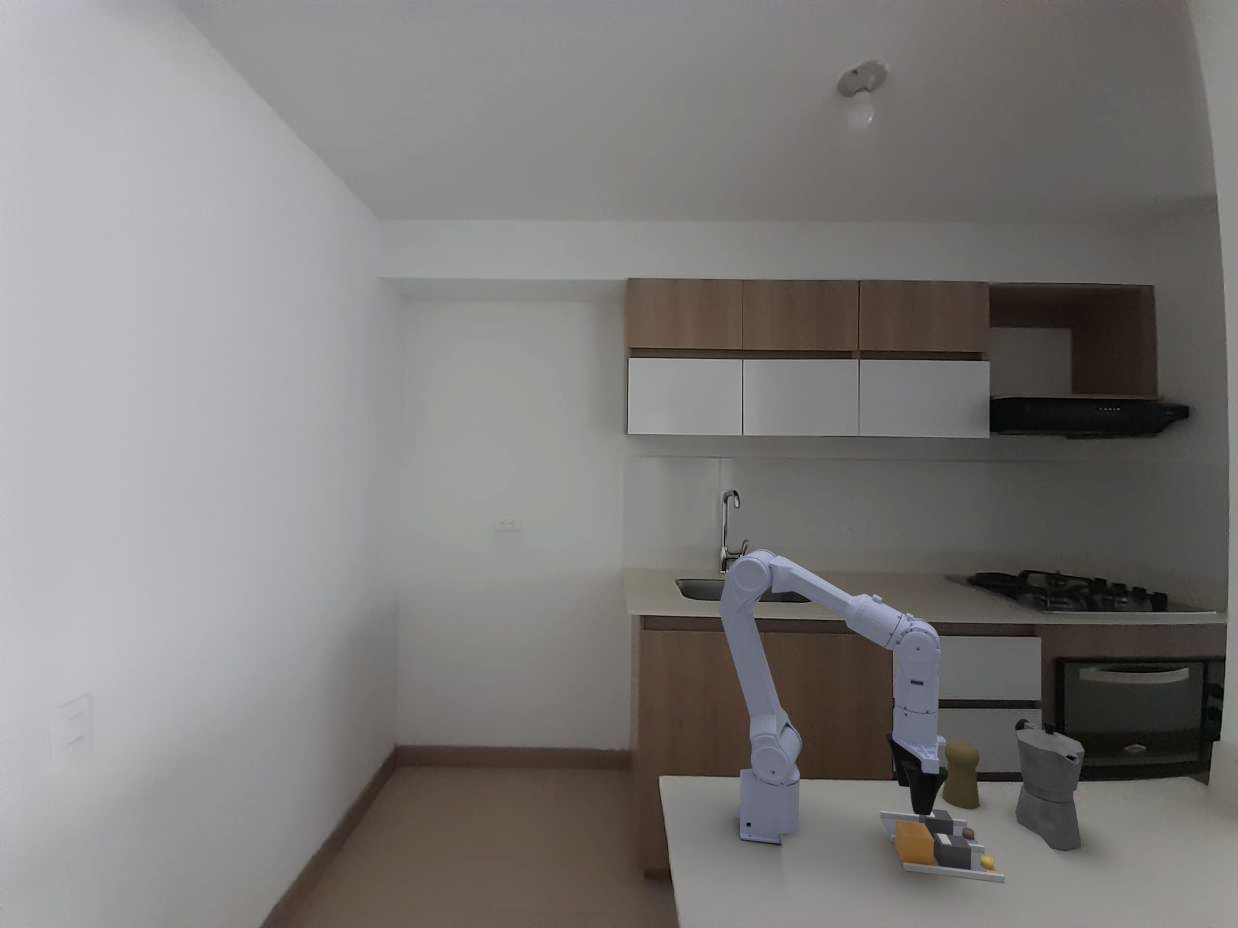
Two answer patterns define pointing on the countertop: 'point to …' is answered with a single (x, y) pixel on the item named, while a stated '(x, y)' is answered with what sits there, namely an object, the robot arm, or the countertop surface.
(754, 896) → the countertop surface
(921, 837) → the block
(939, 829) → the toggle
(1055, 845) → the coffeepot
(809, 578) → the robot arm
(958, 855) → the toggle
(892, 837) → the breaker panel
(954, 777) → the cork
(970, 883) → the countertop surface
